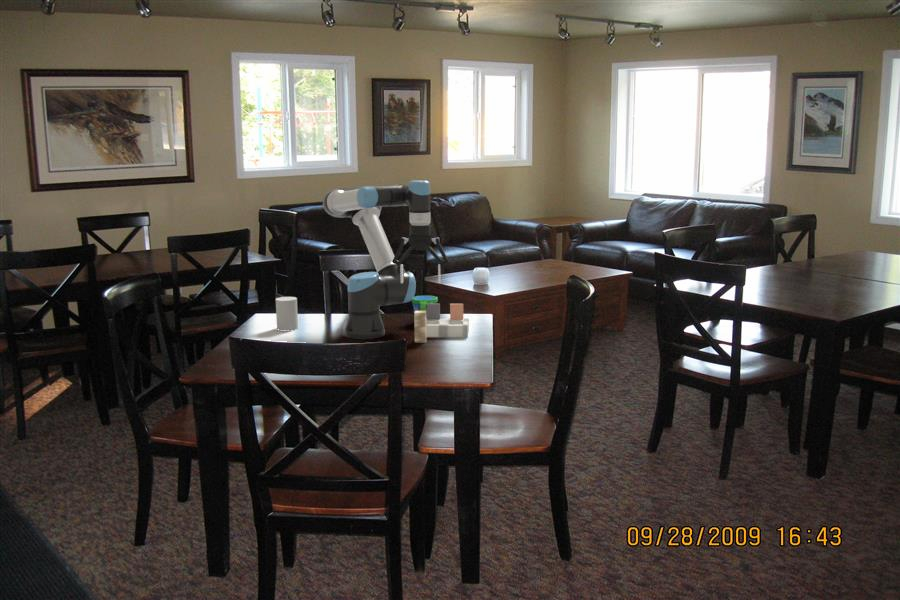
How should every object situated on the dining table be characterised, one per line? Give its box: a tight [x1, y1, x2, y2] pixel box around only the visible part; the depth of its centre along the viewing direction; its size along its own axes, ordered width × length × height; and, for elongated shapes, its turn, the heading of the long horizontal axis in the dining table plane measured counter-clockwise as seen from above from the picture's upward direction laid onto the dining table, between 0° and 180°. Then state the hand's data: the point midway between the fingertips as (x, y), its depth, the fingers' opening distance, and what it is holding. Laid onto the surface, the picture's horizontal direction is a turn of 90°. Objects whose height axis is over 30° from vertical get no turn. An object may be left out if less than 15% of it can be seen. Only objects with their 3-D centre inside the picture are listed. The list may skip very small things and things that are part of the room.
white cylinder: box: [275, 296, 299, 331], centre depth 329 cm, size 8×8×12 cm
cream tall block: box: [413, 311, 428, 344], centre depth 307 cm, size 4×4×11 cm
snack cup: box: [410, 295, 439, 318], centre depth 338 cm, size 16×10×10 cm
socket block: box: [426, 303, 470, 338], centre depth 319 cm, size 18×12×10 cm, turn 87°
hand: (420, 282), depth 305 cm, fingers open, 13 cm apart
